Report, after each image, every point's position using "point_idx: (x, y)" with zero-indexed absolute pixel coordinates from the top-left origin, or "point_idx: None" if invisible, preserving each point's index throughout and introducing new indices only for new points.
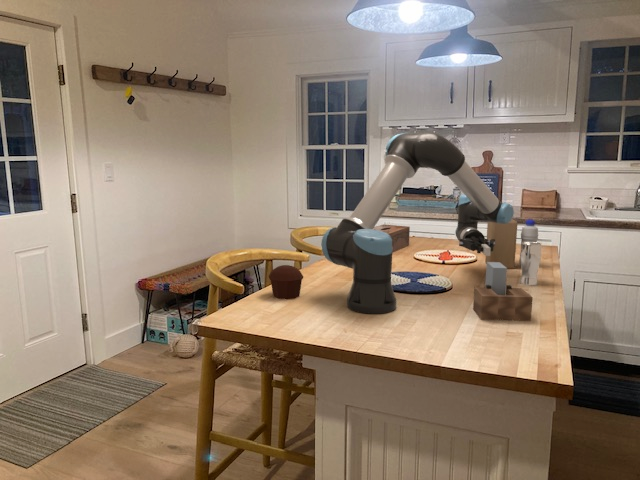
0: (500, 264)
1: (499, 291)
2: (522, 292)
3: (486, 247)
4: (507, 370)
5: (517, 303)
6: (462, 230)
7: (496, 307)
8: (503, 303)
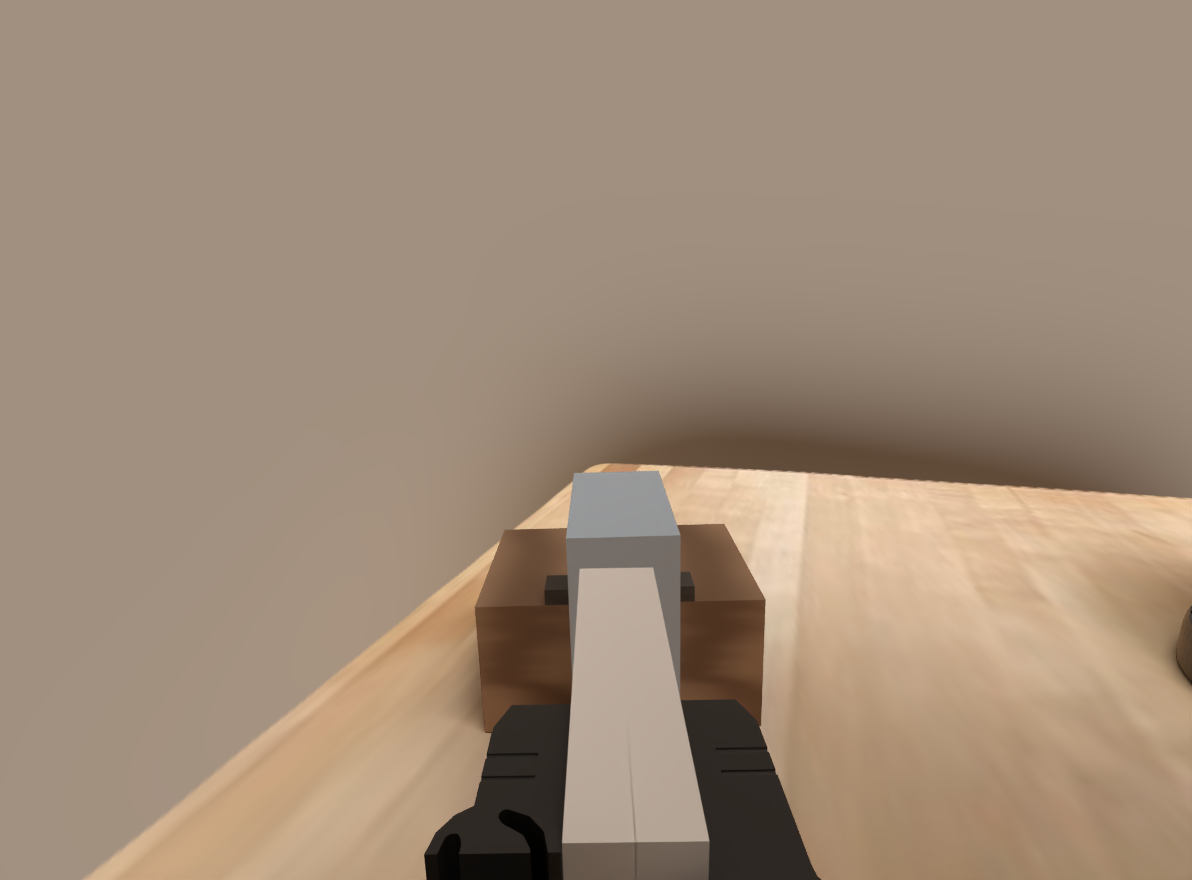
0: (585, 507)
1: None
2: (515, 561)
3: (641, 578)
4: (684, 473)
5: None
6: None
7: None
8: None
